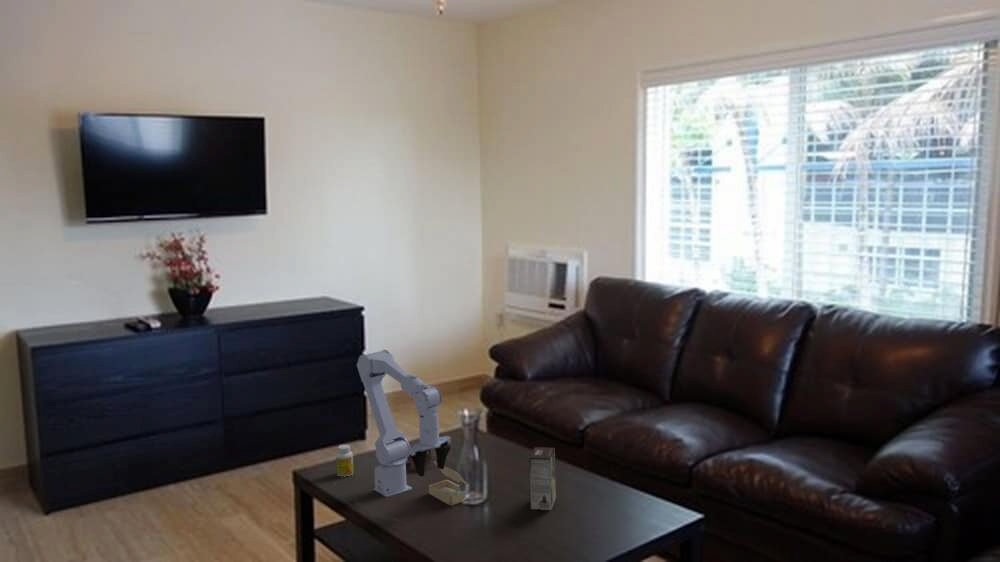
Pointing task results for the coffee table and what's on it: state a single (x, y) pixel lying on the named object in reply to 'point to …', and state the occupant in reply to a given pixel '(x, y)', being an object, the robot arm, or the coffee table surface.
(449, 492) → the soap
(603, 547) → the coffee table surface
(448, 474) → the lid
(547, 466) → the coffee box
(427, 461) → the pottery mug
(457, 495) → the mailer box
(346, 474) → the supplement bottle
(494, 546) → the coffee table surface
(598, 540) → the coffee table surface
